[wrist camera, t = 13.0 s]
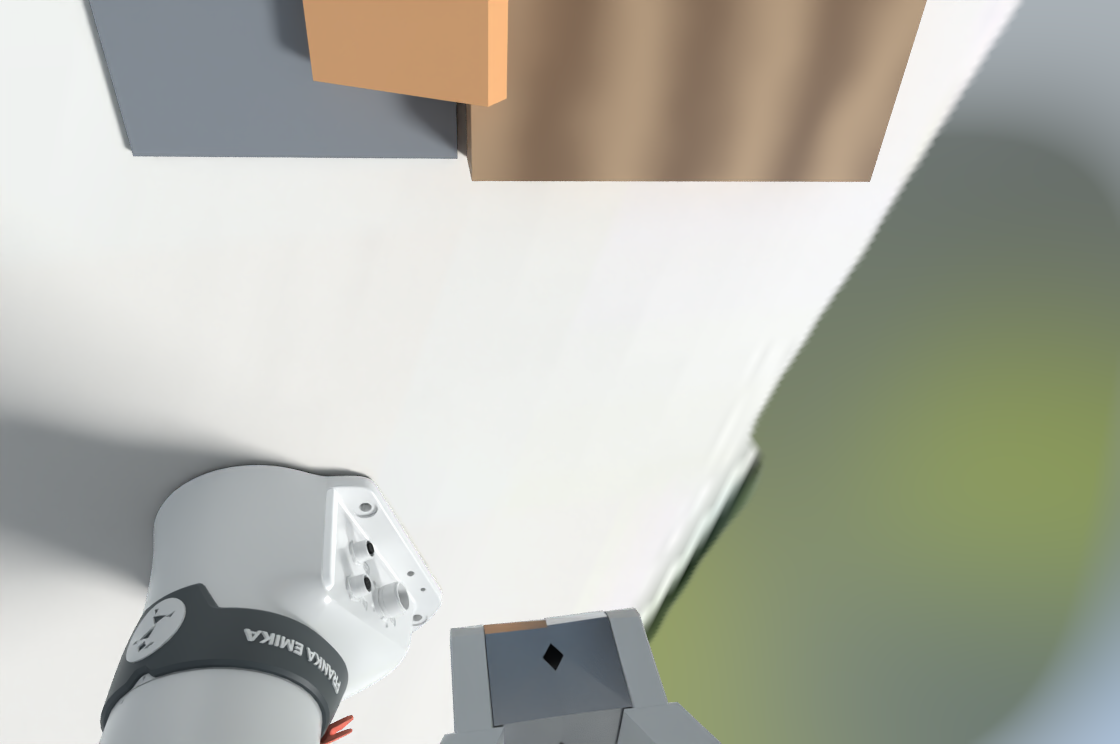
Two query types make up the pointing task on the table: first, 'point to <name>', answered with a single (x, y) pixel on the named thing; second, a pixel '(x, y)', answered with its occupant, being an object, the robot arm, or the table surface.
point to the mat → (250, 87)
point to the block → (412, 47)
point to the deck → (694, 90)
